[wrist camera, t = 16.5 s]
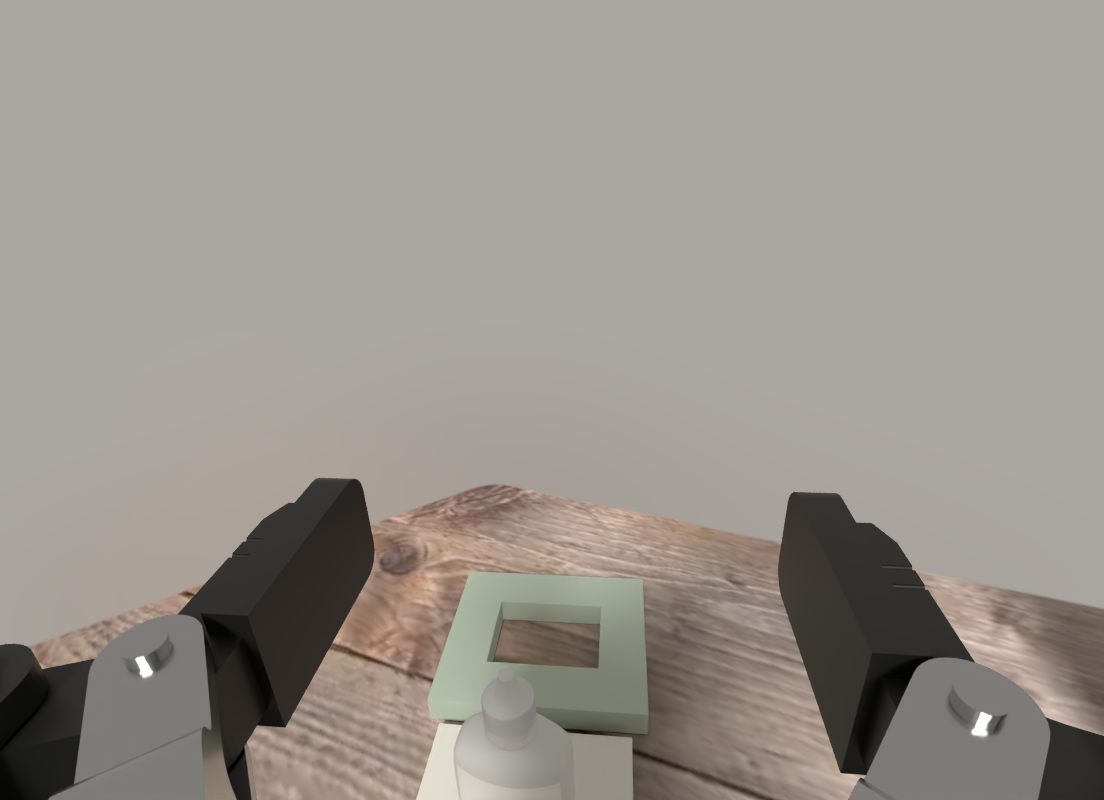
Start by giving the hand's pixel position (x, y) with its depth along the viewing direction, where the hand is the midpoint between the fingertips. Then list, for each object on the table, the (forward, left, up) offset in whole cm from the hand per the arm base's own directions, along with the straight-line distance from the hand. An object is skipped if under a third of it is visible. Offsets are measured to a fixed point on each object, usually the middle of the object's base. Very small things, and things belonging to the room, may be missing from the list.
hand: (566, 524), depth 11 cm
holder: (+4, -22, -28) cm, 36 cm away
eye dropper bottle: (+4, -9, -27) cm, 29 cm away
